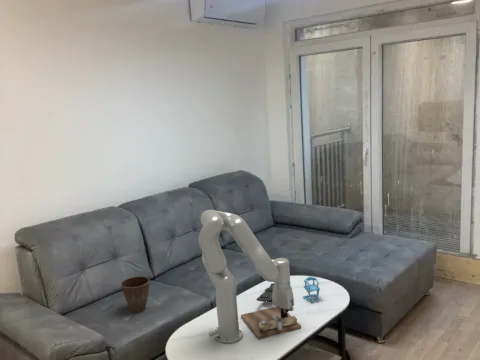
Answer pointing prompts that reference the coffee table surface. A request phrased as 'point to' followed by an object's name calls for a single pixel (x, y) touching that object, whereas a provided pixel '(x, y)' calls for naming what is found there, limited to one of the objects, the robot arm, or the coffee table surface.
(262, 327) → the link
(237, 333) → the robot arm
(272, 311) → the walnut board
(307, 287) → the chair
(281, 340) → the coffee table surface
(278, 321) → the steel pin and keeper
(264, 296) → the zipper pull
